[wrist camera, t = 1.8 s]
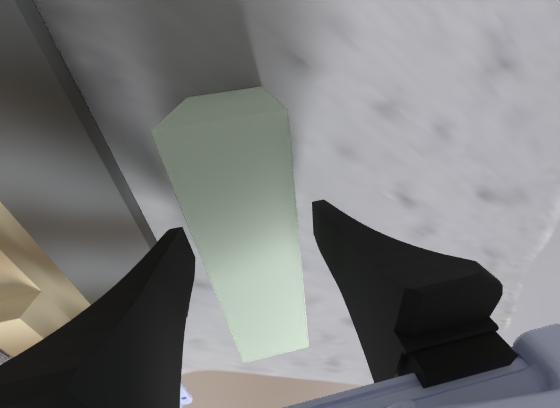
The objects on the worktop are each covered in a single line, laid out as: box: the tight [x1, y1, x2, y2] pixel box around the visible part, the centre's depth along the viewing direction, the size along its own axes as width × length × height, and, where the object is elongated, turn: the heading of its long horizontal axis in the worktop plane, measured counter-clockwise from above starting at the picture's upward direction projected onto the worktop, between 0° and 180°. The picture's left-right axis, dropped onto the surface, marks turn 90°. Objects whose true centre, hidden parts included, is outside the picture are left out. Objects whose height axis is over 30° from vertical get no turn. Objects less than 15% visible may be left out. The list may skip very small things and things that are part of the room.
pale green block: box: [150, 86, 309, 363], centre depth 12 cm, size 12×4×6 cm, turn 7°
